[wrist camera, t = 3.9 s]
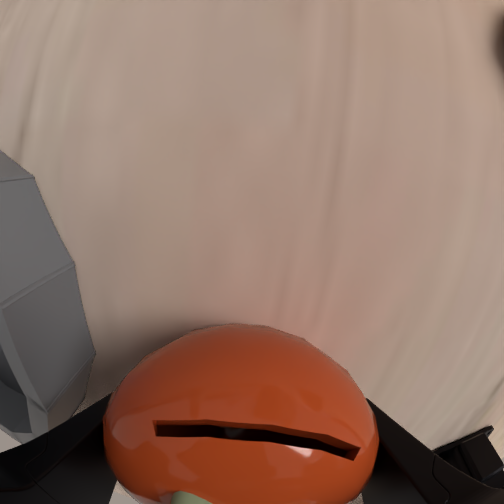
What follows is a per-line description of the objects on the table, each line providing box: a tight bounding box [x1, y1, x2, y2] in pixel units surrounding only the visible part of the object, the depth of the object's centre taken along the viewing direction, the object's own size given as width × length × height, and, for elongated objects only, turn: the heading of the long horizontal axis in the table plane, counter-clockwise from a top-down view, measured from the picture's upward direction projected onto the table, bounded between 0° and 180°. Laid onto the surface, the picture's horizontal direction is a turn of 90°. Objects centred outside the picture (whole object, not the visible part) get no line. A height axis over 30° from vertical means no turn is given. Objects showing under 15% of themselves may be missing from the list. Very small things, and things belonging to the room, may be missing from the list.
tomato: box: [103, 324, 379, 504], centre depth 6 cm, size 7×7×8 cm
